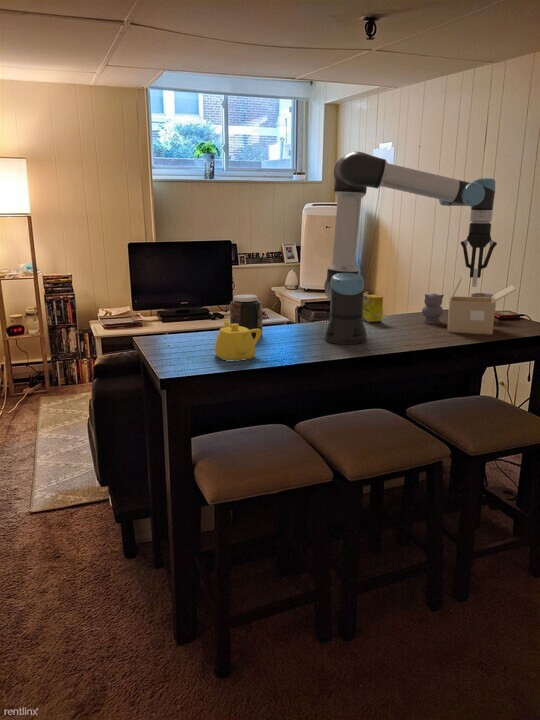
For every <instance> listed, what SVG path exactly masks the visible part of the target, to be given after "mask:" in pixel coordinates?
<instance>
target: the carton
mask: <svg viewBox="0 0 540 720" xmlns="http://www.w3.org/2000/svg"><path fill="white" fill-rule="evenodd" d="M496 303H497V301H496V302H494V300H493V298H486V297H471V296H458V295H457V296H456V295H454V296H453V298H452V300H451V298H450V297H449V301H448V311H447V312H448V313H447V322H446V323H447V325H446V327H447V328H446V329H447V332H448V333H458V334H475V335H493V333H494V322H495V317H496V316H495V315H496V305H497V304H496Z"/></svg>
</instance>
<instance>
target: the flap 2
mask: <svg viewBox="0 0 540 720" xmlns="http://www.w3.org/2000/svg"><path fill="white" fill-rule="evenodd" d="M515 291H517V289H516V288H515V286H514V285H513V284H511V285H510V286H508V287H506V288H503V289H501V290H500V291H499V292H497V293H495V294H493V296H492V298H493V300H494V302H496V303H497V301H499V300H501V299H502V298H504V297H506V296H508V295H509V294H511V293H513V292H515Z"/></svg>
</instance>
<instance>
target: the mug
mask: <svg viewBox="0 0 540 720" xmlns="http://www.w3.org/2000/svg"><path fill="white" fill-rule="evenodd" d="M493 295H494V293H486V292H485V293H484V292H475V293H473V292H472V293H471V295H470V297H486V298H492V296H493Z"/></svg>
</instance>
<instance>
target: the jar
mask: <svg viewBox="0 0 540 720" xmlns="http://www.w3.org/2000/svg"><path fill="white" fill-rule="evenodd" d="M233 297H234V299H233V300H232V301H230V303H229V326H230V325H231V324H239V326H242V327H245V328H248V329H249V330H252V329H261V330H262V331H263V304H262V301H261V300H258V296H257V295H256V294H237V295H234V296H233ZM230 327H231V326H230ZM251 335H252V337H253V339H255V337H256V332H252V333H251ZM262 336H263V333H262V334H261V337H262Z"/></svg>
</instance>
